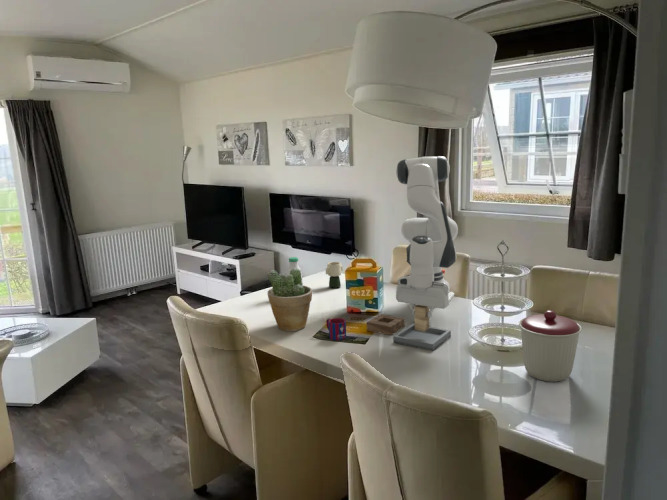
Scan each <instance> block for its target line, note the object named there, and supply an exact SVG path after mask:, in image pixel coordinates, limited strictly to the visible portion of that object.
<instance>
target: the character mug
mask: <svg viewBox="0 0 667 500" xmlns="http://www.w3.org/2000/svg"><path fill="white" fill-rule="evenodd" d="M326 264H327V265H326V268H325V275H328V276H329V282H328V287H329V288H332V287H333V288H337V287H338V288H340V287H341V286H342V285H341V279H340V276H341V275H342V271H343V268H344V267H343V265H342V263H341V262H340V261H329V262H327V263H326Z"/></svg>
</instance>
